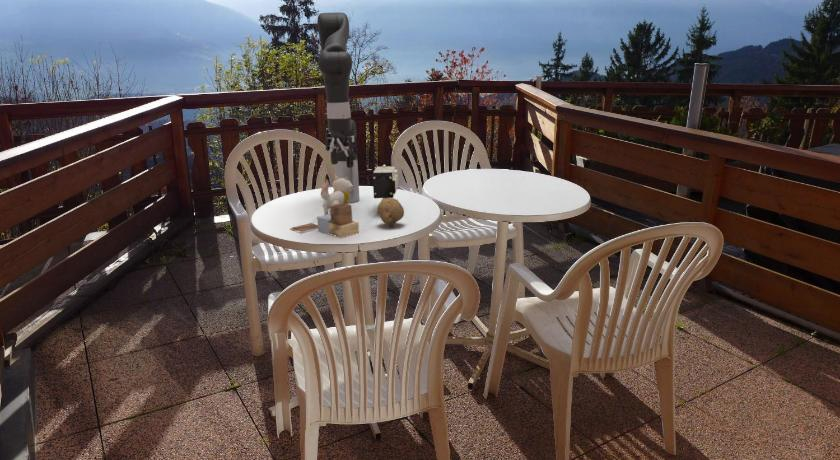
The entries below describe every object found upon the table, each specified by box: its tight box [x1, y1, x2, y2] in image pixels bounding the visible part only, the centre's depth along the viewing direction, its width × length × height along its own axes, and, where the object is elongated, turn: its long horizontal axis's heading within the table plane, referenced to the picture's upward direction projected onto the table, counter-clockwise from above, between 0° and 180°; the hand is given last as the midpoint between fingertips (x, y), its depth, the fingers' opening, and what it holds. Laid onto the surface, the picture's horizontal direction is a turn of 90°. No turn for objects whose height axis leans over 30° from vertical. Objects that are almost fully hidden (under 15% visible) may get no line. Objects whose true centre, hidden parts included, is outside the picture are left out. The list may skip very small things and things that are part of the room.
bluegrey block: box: [316, 213, 331, 234], centre depth 196 cm, size 5×5×6 cm
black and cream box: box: [372, 164, 400, 202], centre depth 218 cm, size 18×8×18 cm, turn 177°
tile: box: [289, 222, 318, 234], centre depth 200 cm, size 7×9×1 cm
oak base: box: [329, 220, 360, 239], centre depth 192 cm, size 7×7×4 cm
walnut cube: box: [329, 203, 353, 226], centre depth 191 cm, size 5×5×6 cm
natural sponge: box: [377, 197, 405, 227], centre depth 199 cm, size 9×9×10 cm
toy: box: [320, 175, 353, 215], centre depth 214 cm, size 9×19×15 cm, turn 161°
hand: (342, 165), depth 190 cm, fingers open, 8 cm apart
